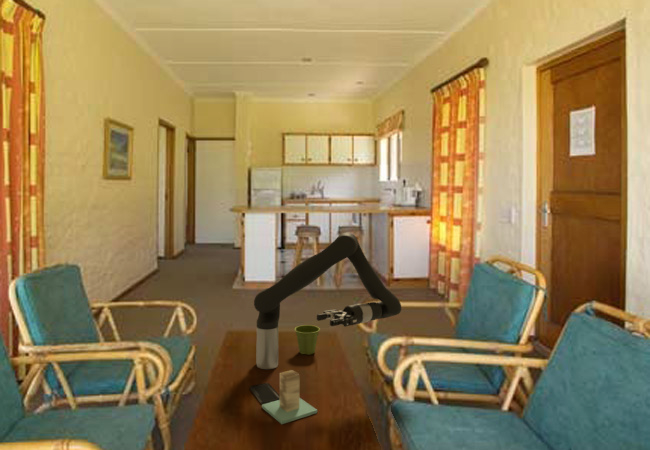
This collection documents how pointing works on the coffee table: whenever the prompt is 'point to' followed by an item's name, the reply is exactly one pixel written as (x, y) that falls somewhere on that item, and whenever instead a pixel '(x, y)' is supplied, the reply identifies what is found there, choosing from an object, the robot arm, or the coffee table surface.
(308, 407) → the green square tile
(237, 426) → the coffee table surface
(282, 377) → the birch block
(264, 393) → the phone
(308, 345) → the plant pot
